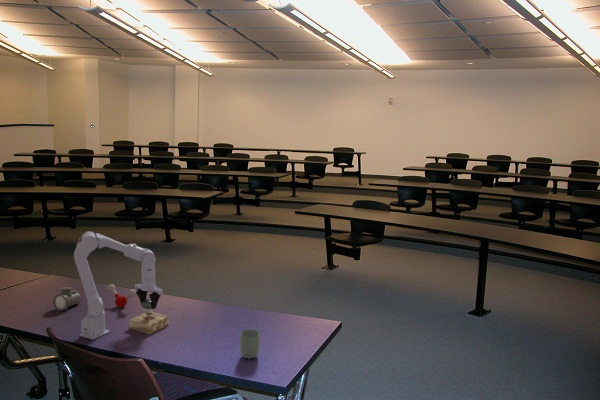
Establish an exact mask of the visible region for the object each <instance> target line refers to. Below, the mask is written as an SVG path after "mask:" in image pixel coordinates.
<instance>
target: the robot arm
mask: <svg viewBox="0 0 600 400" xmlns="http://www.w3.org/2000/svg"><path fill="white" fill-rule="evenodd" d="M77 241H78V242H77V244H76V247H75V250H74V253H73V259H74V263H75V265H76V269H77V271H78V275H79V277H80V280H81V283H82V287H83V290H84V293H85V297H86V303H87V312H86V315H85V316H84V317H83V318H82V319H81V321H80V334H79V336H80V337H83V338H86V339H89V340H96V339H97V338H99V337H102V336H104V335H106V334H109V333H111V330H109V329H106V311H105V306H104V302H103V301H104V300H103V297H101V296H100V295H99V292H98V289H97V288H96V283H95V280H94V277H93V275H92V271H91V268H90V265H89V262H88V259H87V258H88V257H89V256H90V253H92V252H94V251H95V250H96V249H97V248H98V249H102V248H104V247H105V248H109V249H111V250H112V249H113V250H116V251H119V252H121V253H123V255H124V256H125V257H127V258H130V259H131V260H135V261H137V262H141V269H140V271H141V283H137V284H134V290H135V291H136V296H137V297H138V298H139V301H140V302H139V303H140V305H141V307H142V301H143V300H146V299H147V295H148V293H150V294H149V299H151V307H152V310H155V309H157V305H158V302H159V300H160V297H161V296H162V295H163V294H164V290H163V288H160V287H158V286H157V284H156V265H155V263H156V262H157V261H156V260H157V257H156V255H155V253H154V252H153V251H152V250H151V249H149V248H146V247H144V248H143V247H141V246H138V245H137V243H134V242H133V243H128V244H124V243H122V242H120V241H118V240H115V239H112V238H110V237H108V236H105V235H103V234H101V233H95V232H94V231H91V230H90V231H89V230H88V231H85V232H84V233H82V235H81V236H80V237H79V238H78V240H77Z"/></svg>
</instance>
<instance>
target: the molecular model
mask: <svg viewBox="0 0 600 400" xmlns="http://www.w3.org/2000/svg"><path fill="white" fill-rule="evenodd" d="M107 291H108V292H110V293H112V294H113V296H114V297H115V301H114V302H115V305H116V307H118V308H123V307H125V306H126V305H127V303H128V299H130V298H135V297H136V296H137V294H136V291H137V290H136V289H135V288H134V289H129V290H128V294H125V295H119V293H118V291H116V286H115V285H114V284H109V285H108V286H107Z"/></svg>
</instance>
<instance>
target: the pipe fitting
mask: <svg viewBox="0 0 600 400" xmlns="http://www.w3.org/2000/svg"><path fill="white" fill-rule="evenodd" d="M81 301H82V296H81V294H80V293H79V292H78V291H77V290H75V289H73V288H72V287H71V286H65V287H61V288H60V293H57V294H55V295H54V296H53V301H52V303H53V306H54V308H55V310H57V311H59V312H64V311H66V310H67V309H68V308H70V307H71V306H76V305H78V304H80V303H81Z"/></svg>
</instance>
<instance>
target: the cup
mask: <svg viewBox="0 0 600 400" xmlns="http://www.w3.org/2000/svg"><path fill="white" fill-rule="evenodd" d="M260 336H261V334H260V331H259V330H257V329H252V328H251V329H250V328H247V329H244V330H241V331H240V332H239V350H240V354H241V356H242V357H243V358H244V359H246V358H248V359H247V360H252V359H251V358H253V359H255V358H257V356H258V355H259V353H260V352H259V351H260V343H261V341H260V339H261V337H260Z"/></svg>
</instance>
